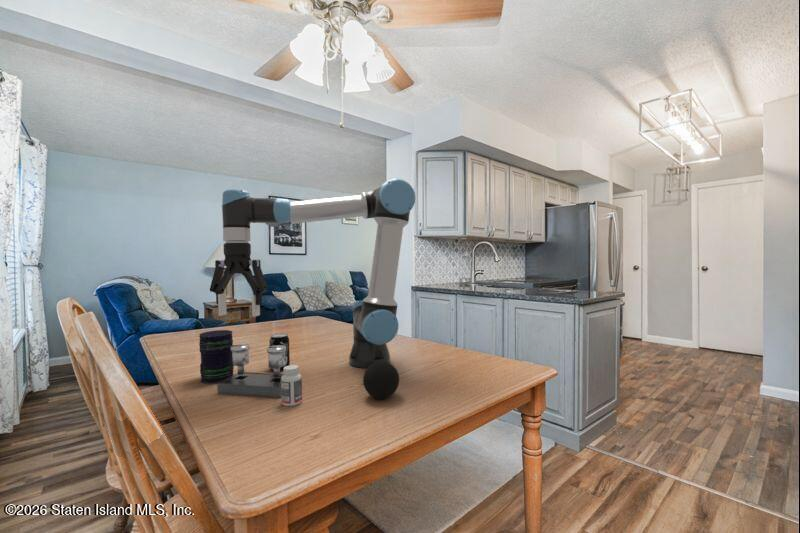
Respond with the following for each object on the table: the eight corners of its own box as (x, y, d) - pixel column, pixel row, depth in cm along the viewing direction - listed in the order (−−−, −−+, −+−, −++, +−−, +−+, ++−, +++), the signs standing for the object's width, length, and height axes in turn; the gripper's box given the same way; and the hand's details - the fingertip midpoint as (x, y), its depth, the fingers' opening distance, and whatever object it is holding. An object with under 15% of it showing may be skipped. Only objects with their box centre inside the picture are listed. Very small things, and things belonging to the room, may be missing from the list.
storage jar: (207, 386, 116) (205, 338, 115) (195, 379, 123) (194, 333, 122) (239, 377, 123) (238, 332, 123) (226, 371, 130) (225, 328, 129)
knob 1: (254, 371, 116) (253, 343, 116) (243, 377, 111) (242, 348, 111) (238, 370, 117) (237, 343, 117) (227, 376, 112) (226, 347, 112)
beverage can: (292, 366, 135) (291, 333, 135) (285, 371, 129) (284, 337, 129) (275, 365, 136) (274, 332, 136) (266, 371, 130) (265, 337, 129)
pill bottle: (300, 397, 106) (299, 363, 105) (304, 404, 101) (303, 368, 101) (280, 401, 103) (279, 365, 103) (283, 408, 99) (282, 371, 98)
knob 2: (289, 373, 114) (289, 345, 113) (280, 379, 109) (279, 349, 108) (273, 372, 115) (272, 344, 115) (263, 378, 110) (262, 349, 109)
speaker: (402, 391, 109) (402, 357, 109) (395, 405, 99) (394, 368, 99) (369, 389, 111) (368, 356, 111) (358, 403, 101) (358, 366, 101)
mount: (298, 384, 116) (298, 374, 116) (279, 397, 106) (279, 386, 106) (241, 380, 121) (240, 370, 121) (217, 393, 110) (217, 382, 110)
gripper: (278, 242, 114) (280, 314, 115) (212, 243, 119) (214, 312, 120) (264, 241, 107) (266, 318, 108) (194, 242, 112) (196, 316, 113)
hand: (239, 315), depth 114 cm, fingers open, 11 cm apart
